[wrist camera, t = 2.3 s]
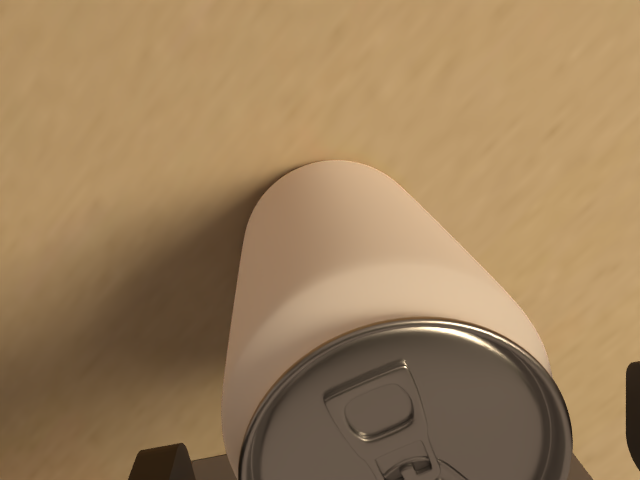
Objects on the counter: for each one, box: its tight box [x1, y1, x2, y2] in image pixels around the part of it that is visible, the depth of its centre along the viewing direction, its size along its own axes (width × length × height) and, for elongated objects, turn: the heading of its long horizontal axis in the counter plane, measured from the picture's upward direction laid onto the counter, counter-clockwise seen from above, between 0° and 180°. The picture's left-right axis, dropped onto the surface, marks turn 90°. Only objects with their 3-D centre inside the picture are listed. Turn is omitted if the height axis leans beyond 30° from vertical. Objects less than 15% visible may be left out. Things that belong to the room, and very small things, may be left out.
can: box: [221, 160, 573, 480], centre depth 15 cm, size 6×6×12 cm
